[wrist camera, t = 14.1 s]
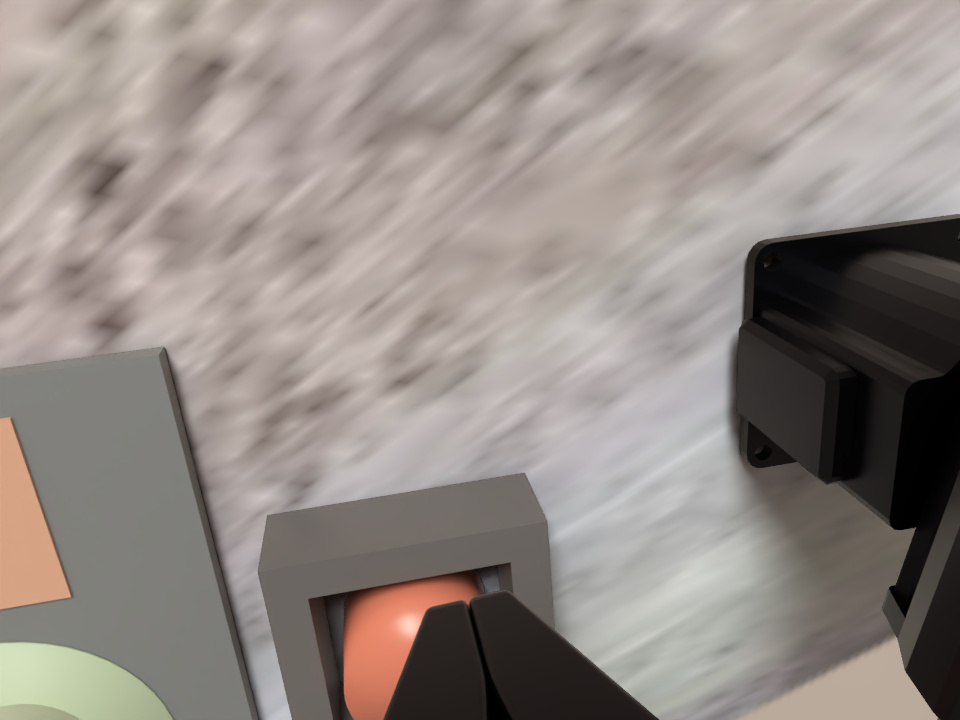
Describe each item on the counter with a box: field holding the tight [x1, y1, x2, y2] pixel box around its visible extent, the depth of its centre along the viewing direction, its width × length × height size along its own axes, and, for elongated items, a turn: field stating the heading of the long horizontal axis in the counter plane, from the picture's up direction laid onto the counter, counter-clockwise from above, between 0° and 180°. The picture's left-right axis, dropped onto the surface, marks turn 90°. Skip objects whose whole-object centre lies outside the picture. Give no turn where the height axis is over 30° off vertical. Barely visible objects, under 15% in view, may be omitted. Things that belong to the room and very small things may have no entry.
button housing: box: [258, 473, 555, 720], centre depth 21 cm, size 7×7×2 cm
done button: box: [344, 569, 485, 720], centre depth 20 cm, size 4×4×3 cm
